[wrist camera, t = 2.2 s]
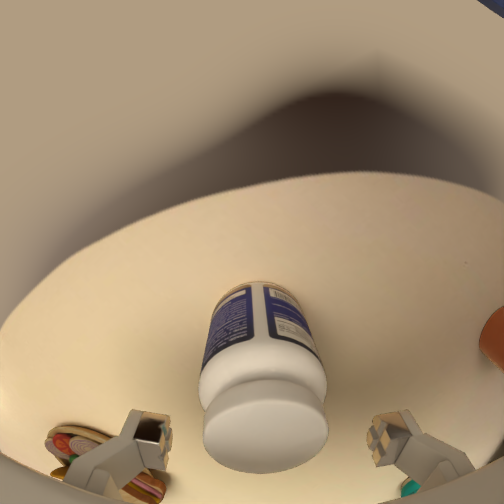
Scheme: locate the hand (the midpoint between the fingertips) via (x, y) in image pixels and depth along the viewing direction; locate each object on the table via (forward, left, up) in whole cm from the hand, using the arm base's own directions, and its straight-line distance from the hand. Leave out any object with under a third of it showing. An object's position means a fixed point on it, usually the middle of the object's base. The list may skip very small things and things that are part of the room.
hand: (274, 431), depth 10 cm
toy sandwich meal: (+24, -5, -9) cm, 26 cm away
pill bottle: (0, -1, -9) cm, 9 cm away
